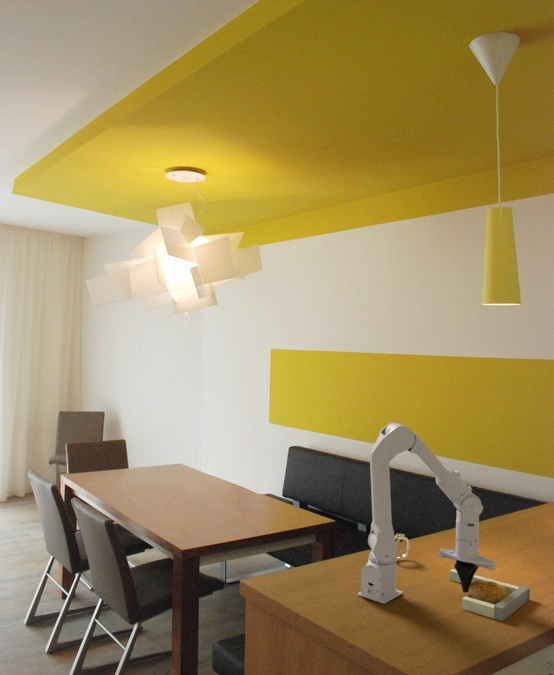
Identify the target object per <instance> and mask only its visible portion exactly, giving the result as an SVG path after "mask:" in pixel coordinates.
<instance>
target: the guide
mask: <svg viewBox="0 0 554 675" xmlns="http://www.w3.org/2000/svg"><path fill="white" fill-rule="evenodd" d="M448 575H449V578H448V580H449V581H452V582H456V583H459V584H461V581H460V578H459V575H458V573H457V571H456V569H455V568H454V569H453V568H451V569H450V570H449V574H448ZM477 580H480V581H493V582H495V583H498V584H500V585H502V586H504V587H506V588H507V589H508V590H509V592H510V595H508V596H507V597H505V598H504V599H503V600H501V601H500V602H499V603H497V604H496V605H494V604H490V603H487V602H483V601H480V600H477V599H473V598H472V597H471V596H470V597H469V596H466V595H465V596H464V597H462V598H461V609H462V610H465V611H467V612H471V613H474V614H477V615H480V616H484V617H487V618H491V619H493V620H497V621H500V622H503V621H504V620H506V619H507V618H509V617H510V616H511V615H513V613H515V612H516V611H517V610H518V609H520V608H521V607H522V606H523V605H525V604H526V603H527V602H528V601H530V596H531V595H530V590H531V589H530V587H529V586H525V585H520V586H518V585H513V584H510V583H506V582H502V581H499V580H495V579H492V578H488V577H484V576H480V575H477V574H474V576H473V579H472V582H471V583H473V582H474V581H477Z"/></svg>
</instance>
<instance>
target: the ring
mask: <svg viewBox="0 0 554 675" xmlns="http://www.w3.org/2000/svg"><path fill="white" fill-rule="evenodd" d="M405 535H406V534H405V533H404V534H403V533H396V534H394V539H395V542H396V543H397V544H399V542H401V540H402V542H403V543H404V545H405V549H404V553H403V555H401V556H397V562H398V561H399V562H402V560H405V559H406V558H407V556H408V555H409V552H410V548H411V547H410V541H409V539H408V537H406V536H405Z"/></svg>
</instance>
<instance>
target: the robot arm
mask: <svg viewBox="0 0 554 675" xmlns="http://www.w3.org/2000/svg"><path fill="white" fill-rule="evenodd" d="M406 451H407V452H409V453H412V454H414V455H417V457H418V458H419V459H420V460H421V461H422V462H423V463H424V464H425V465H426V466H427V467H428V468H429V470H430V471H431V472H432V473H433V474H434V475H435V484H436V485H437V487H439V489H440V490H441V491H442V492H443V493H444V494H445V496H446V497H448V499H449V500H450V501H451V502H452V504H453V507H454V508H456V517H455V518H456V519H455V550H453V549H447V548H440V549H439V552H438V554H439V557H438V558H441V559H444V558H445V559H448V560H453V561H456V562H455V564H454V569H455V570H456V571H457V573H458V575H459V578H460V581H461V583H460V584H461V587H462V588H461V589H462V592H463V593H466V594H467V593H469V591H468V589H469V587H470V585H471V582H472V579H473V576H474V575H476V573H477V571H478V570H479V568H482V569H483V568H484V569H487V570H488V571H491V572H493V571H495V570H496V568H497V567H496V566H497V562H496V561H495V560H492V559H488V558H486V557H484V556H481V555H479V546H480V545H479V544H480V542H479V541H480V539H479V538H480V515H481V514H482V513H483V510H484V506H483V505H482V501H481V498H480V497H479V496H477V495H476V494H475V493H473V492H472V491H473V488H472V487H471V486H470V485H468V484H466V483H465V482H464V480H463V479H462V478H461V477H460V476H461V473H460V472H459V471H458V470H454V469H452V468H447V467H445V466H444V464H443V463H442V461H440V459H439V458H438V457H437V456H436V454H434V452H433V451H432V450H431V448H429V446H428V445H427V443H426V442H425V441H424V440H423V439H422V438H420V437H419V435H417V433H414V431H413V430H412V429H411V428H410V427H408V426H405V425H403V424H402V423H401V422H397V421H392V422H390V423H388V424H387V425H385V427H383V428H382V429H381V430H380V431H379V434H378V437H377V439H376V440H375V442H374V444H373V446H372V448H371V450H370V452H369V467H370V469H369V470H370V491H371V493H370V494H371V512H372V513H371V514H372V521H371V524H370V531H369V532H370V533H369V534H368V538H367V544H368V547H370V549H371V551H370V552H369V555H368V558H367V559H368V561H367V563H366V564H365V565H364V566H363V567H362V568H361V572H360V592H358V593H357V596H359V597H362V598H364V599H369V600H372V601H374V602H378V603H380V604H387V603H388V602H390V601H392V600H394V599H396V598H397V597H399V596H401V595H403V593H404V591H403V590H400V589H399V590H398V589H397V574H398V573H397V572H398V571H397V570H398V569H397V567H398V566H397V562H398V560H397V558H398V557H399V554H400V553H399V552H400V551H399V550H400V549H399V546H398V543H396V542H395V541H396V539H394V536H395V531H394V527H393V522H392V521H393V519H392V501H391V500H392V499H391V498H392V497H391V495H392V494H391V477H390V473H391V472H390V462H391V461H392V460H393V459H394V458H396V456H397V455H399V454H402V453H403V452H406Z"/></svg>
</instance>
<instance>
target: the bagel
mask: <svg viewBox="0 0 554 675" xmlns="http://www.w3.org/2000/svg"><path fill="white" fill-rule="evenodd" d="M468 595H469V596H470V598H473V599H477V600H480V601H483V602H487V603H490V604H494V605H496V604H497V603H499V602H500V601H501V600H503V599H504V598H505V597H507V596H508V595H510V592H509V590H508V589H507V588H506V587H504V586H502V585H500V584H498V583H495V582H493V581H480V580H477V581H474V582H473V583H471V585H470V587H469V589H468Z"/></svg>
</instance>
